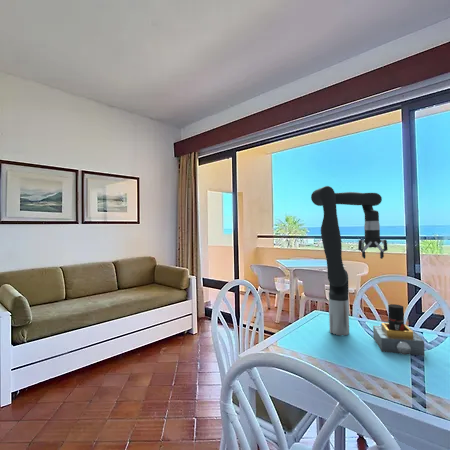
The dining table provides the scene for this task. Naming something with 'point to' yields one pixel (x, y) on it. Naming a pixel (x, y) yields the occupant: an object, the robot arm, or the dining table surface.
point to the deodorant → (396, 317)
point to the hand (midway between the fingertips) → (372, 258)
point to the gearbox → (398, 340)
